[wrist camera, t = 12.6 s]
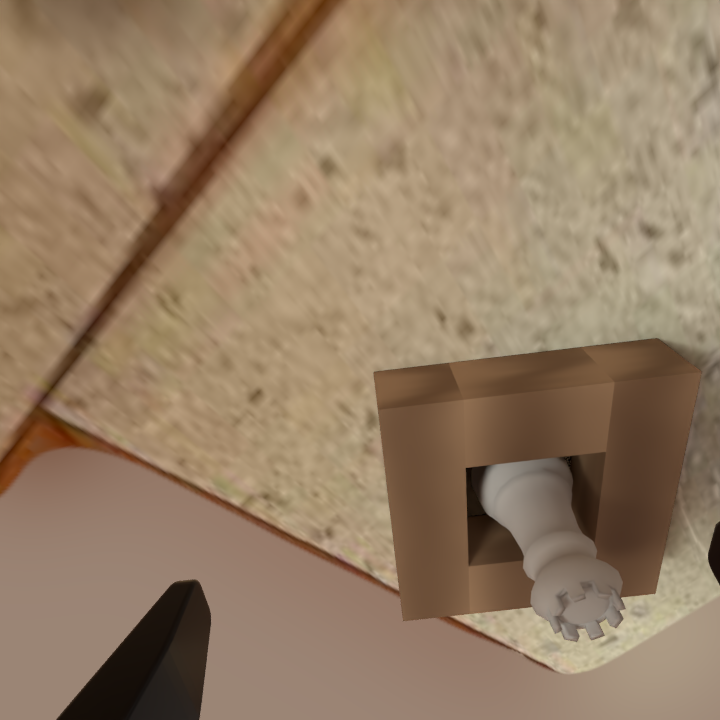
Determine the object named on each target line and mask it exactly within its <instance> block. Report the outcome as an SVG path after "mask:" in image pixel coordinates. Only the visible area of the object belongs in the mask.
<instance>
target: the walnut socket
mask: <svg viewBox="0 0 720 720" xmlns="http://www.w3.org/2000/svg"><path fill="white" fill-rule="evenodd" d="M701 373H702V372H701V371H700V370H699V369H697V368H696V367H695V366H693V365H692V364H691V363H689V362H688V361H687V360H685V359H684V358H683V357H681V356H680V355H679V354H677V353H676V352H675V351H673V350H672V349H671V348H669V347H668V346H667V345H665V344H664V343H663V342H661V341H660V340H659V339H657V338H655V339H647V340H638V341H630V342H622V343H613V344H605V345H596V346H588V347H580V348H571V349H563V350H554V351H546V352H538V353H529V354H521V355H512V356H504V357H496V358H487V359H479V360H470V361H462V362H454V363H445V364H437V365H428V366H420V367H412V368H403V369H395V370H386V371H378V372H374V380H375V389H376V397H377V405H378V414H379V422H380V431H381V439H382V448H383V456H384V465H385V473H386V482H387V490H388V499H389V507H390V515H391V524H392V532H393V541H394V549H395V558H396V566H397V574H398V583H399V591H400V599H401V607H402V615H403V621H408V620H418V619H427V618H437V617H446V616H455V615H464V614H473V613H482V612H492V611H501V610H510V609H519V608H528V607H532V605H531V604H530V601H531V591H532V588H533V586H534V583H535V581H534V580H532V579H531V578H529V577H528V576H527V574H526V573H525V571H524V569H523V561H524V555H523V552H522V550H521V548H520V547H519V545H518V543H517V542H516V540H515V538H514V537H513V535H512V533H511V532H510V531H509V530H508V529H507V528H505V527H504V526H502V525H501V524H500V523H498V521H496V520H495V519H493V518H492V517H490V516H489V515H479V516H470V517H467V496H466V468H469V467H478V466H486V465H495V464H504V463H513V462H521V461H530V460H539V459H547V458H556V457H565V456H571V467H570V471H571V473H572V477H573V485H572V500H571V508H572V511H573V513H574V516H575V519H576V521H577V524H578V527H579V528H580V530H581V532H582V534H584V535H585V536H587V537H588V538H589V539H591V540H592V541H593V542H594V544H595V547H596V549H597V554H596V559H598V560H600V561H603V562H606V563H608V564H609V565H610V566H612V567H613V568H615V569H616V570H617V571H618V572H619V574H620V577H621V579H622V581H623V584H622V589H621V594H620V597H629V596H639V595H648V594H655V593H656V588H657V583H658V579H659V574H660V569H661V564H662V560H663V555H664V550H665V545H666V540H667V536H668V531H669V526H670V521H671V517H672V512H673V507H674V502H675V498H676V493H677V488H678V483H679V478H680V474H681V469H682V464H683V459H684V455H685V450H686V445H687V440H688V435H689V431H690V426H691V421H692V416H693V412H694V407H695V402H696V397H697V393H698V388H699V383H700V378H701Z"/></svg>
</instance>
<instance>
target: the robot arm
mask: <svg viewBox="0 0 720 720" xmlns="http://www.w3.org/2000/svg"><path fill="white" fill-rule="evenodd" d="M708 560H709V565H710V567H711V570H712V572H713V573H714V575H715V577H716V579H717V581H718V583H719V585H720V521H719V522H718V523H717V524H716V526H715V530H714V533H713V537H712V541H711V545H710V548H709V552H708ZM210 626H211V613H210V609H209V606H208V603H207V601H206V598H205V595H204V593H203V590H202V587H201V585H200V583H199V582H198V581H197V580H185V581H177V582H175V583H173V584H172V585H171V586H170V587H169V588H168V589H167V590H166V591H165V593H164V594H163V595H162V596H161V597H160V598H159V600H158V601H157V602H156V603H155V604H154V605H153V607H152V608H151V609H150V610H149V611H148V613H147V614H146V615H145V616H144V617H143V618H142V619H141V621H140V622H139V623H138V624H137V625H136V627H135V628H134V629H133V630H132V631H131V633H130V634H129V635H128V636H127V637H126V638H125V639H124V641H123V642H122V643H121V644H120V645H119V647H118V648H117V649H116V650H115V651H114V652H113V654H112V655H111V656H110V657H109V658H108V659H107V661H106V662H105V663H104V664H103V665H102V666H101V668H100V669H99V670H98V671H97V672H96V673H95V675H94V676H93V677H92V678H91V679H90V681H89V682H88V683H87V684H86V685H85V686H84V688H83V689H82V690H81V691H80V692H79V693H78V695H77V696H76V697H75V698H74V699H73V700H72V702H71V703H70V704H69V705H68V706H67V708H66V709H65V710H64V711H63V712H62V713H61V714H60V716H59V717H58V718H57V719H56V720H199V717H200V711H201V703H202V695H203V685H204V677H205V669H206V661H207V652H208V644H209V635H210Z"/></svg>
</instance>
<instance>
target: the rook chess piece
mask: <svg viewBox="0 0 720 720" xmlns="http://www.w3.org/2000/svg"><path fill="white" fill-rule="evenodd" d="M572 485H573V477H572V473H571V471H570V468H569V466H568V464H567V461H566V460H565V459H564V457H556V458H547V459H539V460H530V461H521V462H513V463H504V464H495V465H486V466H478V467H473V469H472V471H471V486H472V488H473V489H474V491H475V493H476V495H477V498H478V500H479V502H480V504H481V506H482V507H483V509H484V511H485V512H486V513H487V514H488V515H489V516H490V517H492V518H493V519H495V520H496V521H498V523H500V524H501V525H502V526H504V527H505V528H507V529H508V530H509V531H510V532H511V533H512V535H513V537H514V538H515V540H516V542H517V543H518V545H519V547H520V548H521V550H522V552H523V555H524V561H523V569H524V571H525V573H526V574H527V576H528V577H529V578H531V579H532V580H534V581H535V583H534V586H533V588H532V591H531V601H530V604H531V605H532V607H533V609H534V611H535V613H536V614H537V615H539V616H541V617H542V618H544V619H545V620H547V621H549V622H550V624H551V627H552V628H553V630H554V632H555V634H556V633H558V632H560V631H561V632H562V635H563V637H564V639H565V640H570V641H576V642H577V641H578V638H579V634H578V632H577V630H576V629H584V628H586V631H587V633H588V635H589V637H590V639H591V640H594V639H597V638H599V637H602V636H605V635H604V633H603V631H602V629H601V627H600V625H599V623H601V622H602V621H604V620H605V619H607V621H608V623H609V625H610V626H612V627H615V628H617V627H618V625H619V624H620V623H621V622H622V620H623V617H622V615H621V613H620V611H619V610H624V609H626V608H625V606H624V604H623V601H622V599H621V597H620V594H621V589H622V584H623V581H622V579H621V577H620V574H619V572H618V571H617V570H616V569H615V568H613V567H612V566H610V565H609V564H608V563H606V562H603V561H600V560H598V559H596V554H597V549H596V547H595V544H594V542H593V541H592V540H591V539H589V538H588V537H587V536H585V535H584V534H582V532H581V530H580V528H579V527H578V524H577V521H576V519H575V516H574V513H573V511H572V508H571V500H572Z"/></svg>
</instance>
